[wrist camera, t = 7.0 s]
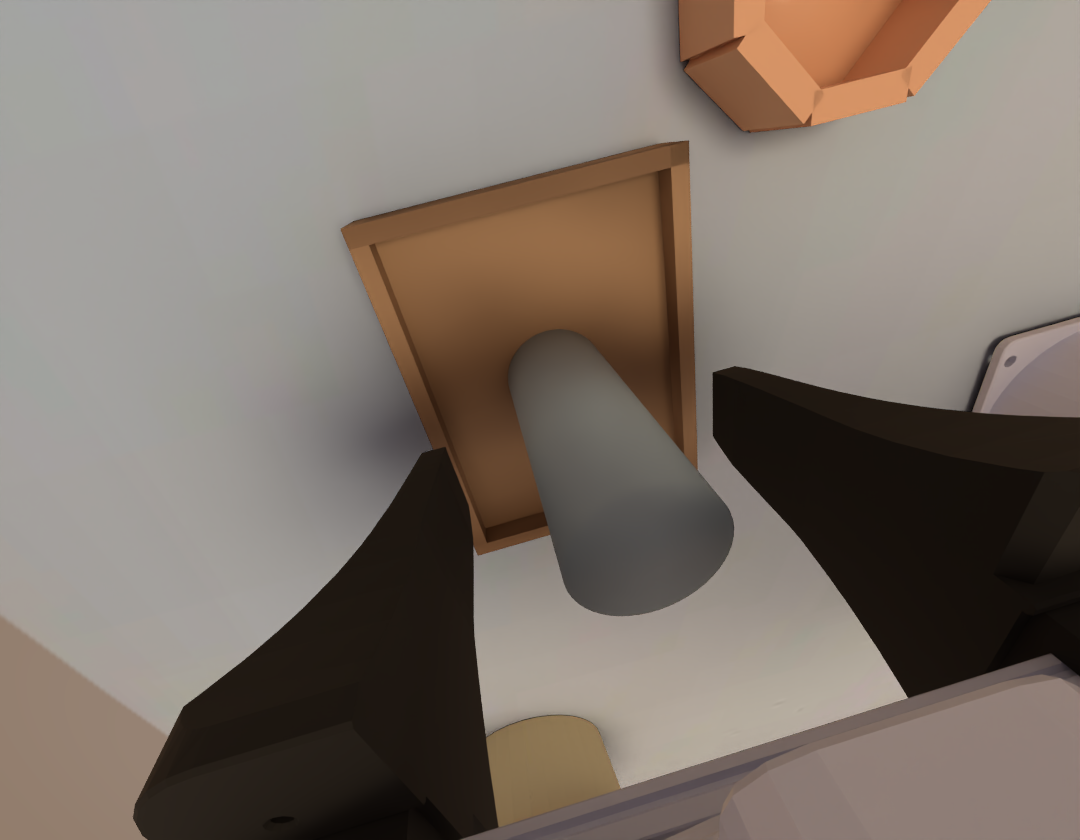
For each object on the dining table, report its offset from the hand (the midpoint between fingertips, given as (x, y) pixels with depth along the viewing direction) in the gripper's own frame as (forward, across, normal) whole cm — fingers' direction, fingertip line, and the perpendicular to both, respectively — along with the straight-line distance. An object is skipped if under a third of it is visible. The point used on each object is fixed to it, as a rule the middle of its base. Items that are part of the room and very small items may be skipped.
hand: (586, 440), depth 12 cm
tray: (+5, 0, 0) cm, 5 cm away
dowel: (+4, 0, 0) cm, 4 cm away
